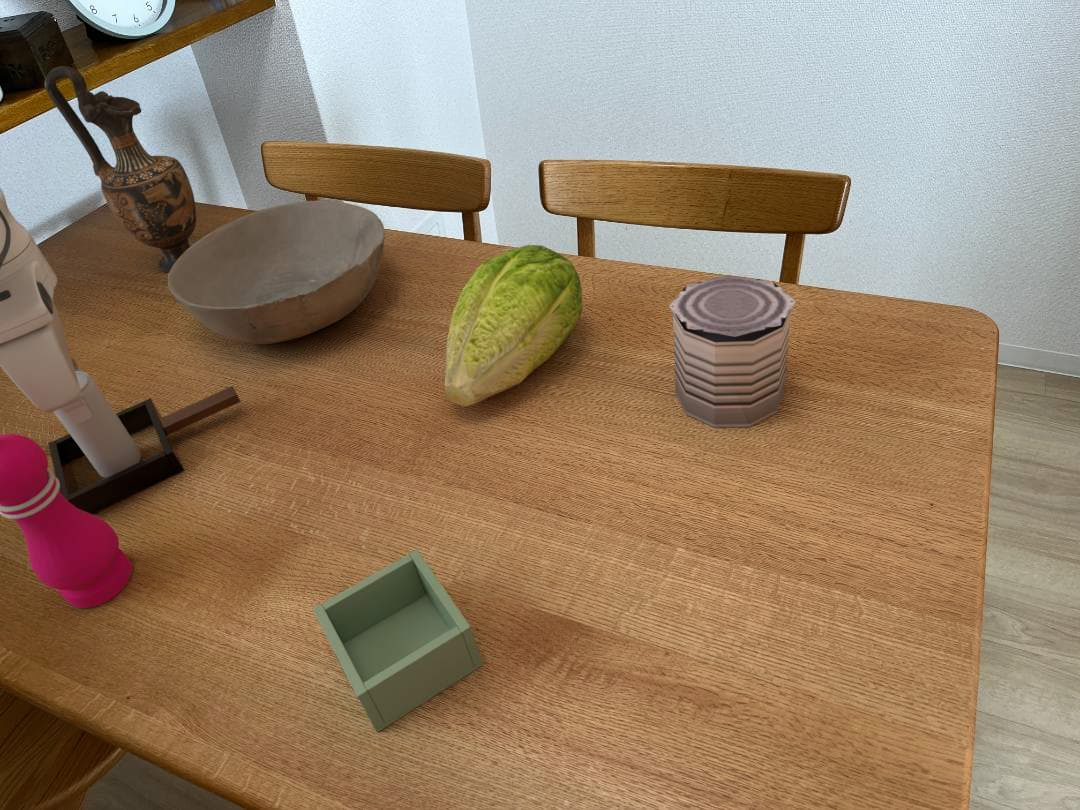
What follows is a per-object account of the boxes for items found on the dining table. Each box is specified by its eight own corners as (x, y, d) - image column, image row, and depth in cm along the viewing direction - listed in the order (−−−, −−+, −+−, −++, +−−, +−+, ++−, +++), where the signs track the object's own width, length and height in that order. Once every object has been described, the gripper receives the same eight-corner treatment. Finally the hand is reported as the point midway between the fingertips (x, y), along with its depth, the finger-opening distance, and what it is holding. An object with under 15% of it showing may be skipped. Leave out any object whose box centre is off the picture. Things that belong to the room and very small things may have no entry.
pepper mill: (91, 548, 81) (-27, 401, 68) (152, 554, 80) (43, 404, 67) (45, 609, 76) (-92, 462, 63) (109, 617, 75) (-18, 467, 61)
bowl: (299, 395, 96) (269, 328, 89) (155, 343, 109) (120, 281, 102) (437, 275, 112) (420, 210, 105) (298, 242, 125) (275, 182, 118)
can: (660, 417, 84) (655, 324, 77) (693, 352, 92) (691, 261, 84) (770, 439, 80) (777, 343, 72) (795, 369, 87) (804, 275, 79)
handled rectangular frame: (76, 522, 85) (61, 503, 83) (61, 461, 93) (47, 443, 91) (259, 434, 91) (249, 415, 89) (230, 385, 99) (221, 366, 97)
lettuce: (382, 367, 88) (450, 340, 77) (485, 245, 100) (555, 207, 89) (461, 447, 93) (534, 431, 82) (550, 321, 104) (624, 294, 94)
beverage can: (147, 446, 92) (95, 365, 85) (138, 476, 89) (83, 394, 81) (105, 456, 92) (49, 375, 84) (95, 485, 89) (35, 404, 81)
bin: (377, 732, 62) (357, 696, 59) (332, 645, 69) (312, 608, 65) (483, 664, 66) (470, 626, 62) (431, 587, 72) (417, 548, 68)
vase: (207, 274, 121) (110, 72, 102) (128, 285, 122) (17, 86, 103) (228, 235, 130) (142, 42, 110) (154, 245, 131) (57, 56, 111)
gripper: (-42, 252, 81) (34, 360, 90) (-32, 346, 67) (57, 461, 76) (24, 229, 83) (92, 336, 92) (47, 314, 69) (125, 431, 78)
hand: (77, 394), depth 84 cm, fingers open, 8 cm apart
